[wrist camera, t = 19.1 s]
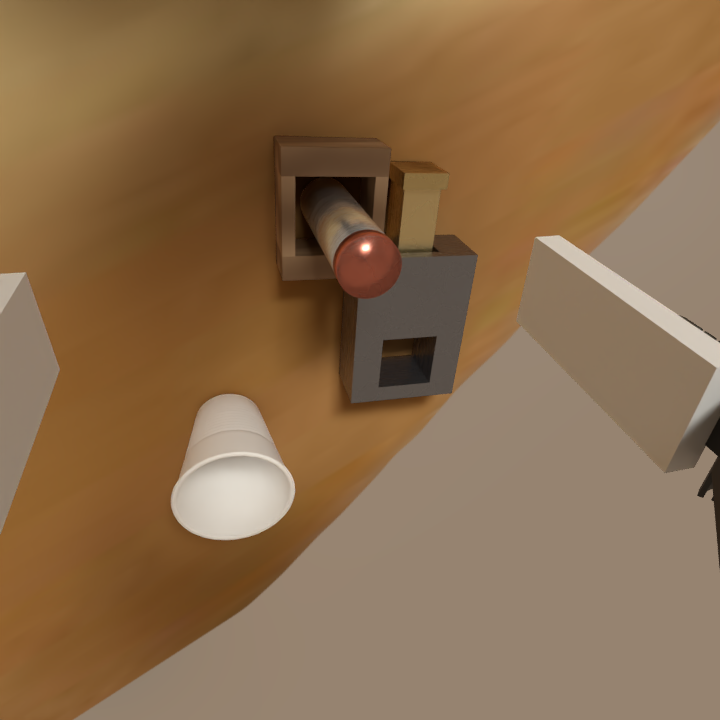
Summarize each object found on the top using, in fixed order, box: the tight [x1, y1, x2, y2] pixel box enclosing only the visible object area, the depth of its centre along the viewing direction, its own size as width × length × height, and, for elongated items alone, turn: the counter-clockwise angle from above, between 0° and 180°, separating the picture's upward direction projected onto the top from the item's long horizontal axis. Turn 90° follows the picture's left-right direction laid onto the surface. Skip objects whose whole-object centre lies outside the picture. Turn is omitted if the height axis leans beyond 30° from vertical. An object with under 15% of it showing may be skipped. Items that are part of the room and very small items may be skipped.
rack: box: [274, 136, 391, 281], centre depth 42 cm, size 10×8×4 cm
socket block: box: [339, 235, 478, 403], centre depth 49 cm, size 14×10×5 cm
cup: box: [171, 394, 295, 540], centre depth 48 cm, size 10×10×11 cm
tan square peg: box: [386, 161, 449, 253], centre depth 45 cm, size 11×4×4 cm, turn 176°
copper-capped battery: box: [300, 177, 402, 299], centre depth 38 cm, size 4×4×14 cm
